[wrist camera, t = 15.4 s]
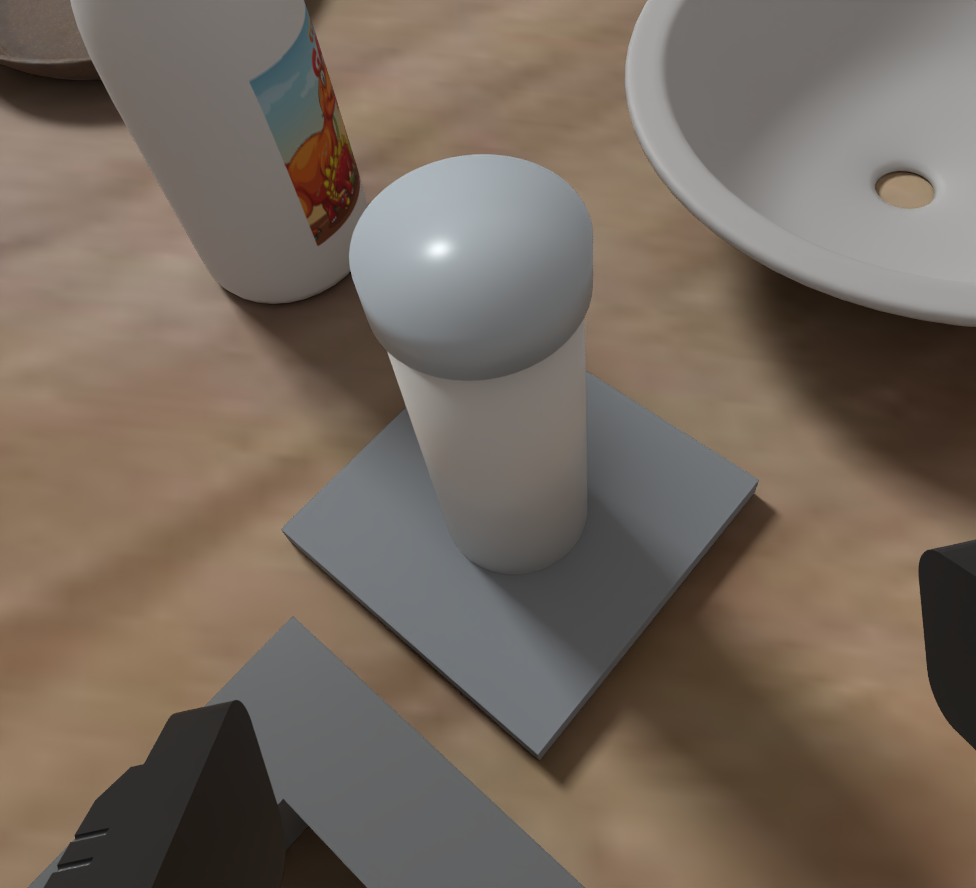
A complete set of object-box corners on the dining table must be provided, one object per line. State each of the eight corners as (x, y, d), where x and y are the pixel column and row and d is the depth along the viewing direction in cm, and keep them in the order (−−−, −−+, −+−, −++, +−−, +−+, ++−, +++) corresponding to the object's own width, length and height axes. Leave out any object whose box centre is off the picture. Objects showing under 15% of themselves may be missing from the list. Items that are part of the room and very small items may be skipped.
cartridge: (409, 518, 31) (299, 261, 20) (508, 416, 33) (461, 123, 21) (525, 611, 29) (479, 383, 17) (624, 496, 31) (643, 219, 19)
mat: (289, 540, 32) (280, 529, 32) (501, 331, 36) (499, 315, 35) (539, 760, 28) (537, 754, 27) (754, 493, 31) (758, 479, 31)
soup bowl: (976, -37, 45) (1032, -181, 39) (1377, 299, 33) (1541, 161, 27) (539, 112, 43) (530, -17, 37) (796, 529, 31) (842, 432, 25)
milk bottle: (289, 338, 37) (26, -191, 20) (174, 260, 40) (-142, -258, 23) (409, 225, 40) (267, -331, 23) (292, 160, 43) (88, -375, 26)
